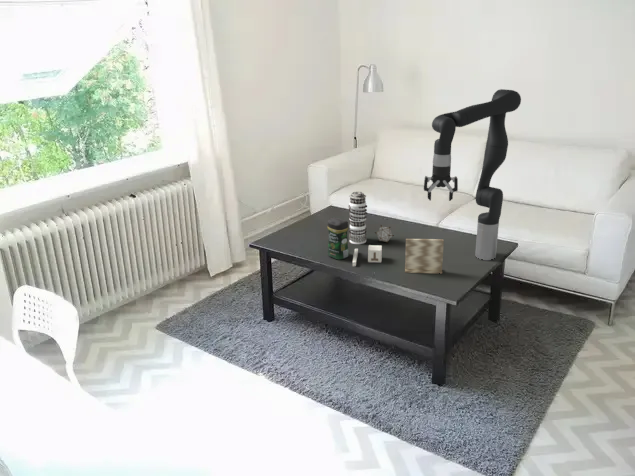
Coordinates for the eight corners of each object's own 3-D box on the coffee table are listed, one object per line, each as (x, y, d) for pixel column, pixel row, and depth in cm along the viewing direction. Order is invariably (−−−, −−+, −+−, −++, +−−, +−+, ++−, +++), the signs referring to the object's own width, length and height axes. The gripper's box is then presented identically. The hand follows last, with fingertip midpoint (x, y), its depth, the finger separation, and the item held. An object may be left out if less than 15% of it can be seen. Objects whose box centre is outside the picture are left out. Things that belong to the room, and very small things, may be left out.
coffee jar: (325, 255, 284) (324, 218, 277) (337, 251, 288) (336, 214, 282) (339, 261, 277) (338, 223, 270) (351, 256, 282) (351, 219, 275)
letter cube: (368, 257, 281) (368, 245, 279) (381, 257, 280) (381, 245, 278) (368, 262, 275) (368, 250, 273) (381, 262, 275) (381, 250, 272)
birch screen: (405, 272, 264) (406, 240, 258) (404, 268, 268) (405, 237, 262) (442, 273, 262) (443, 241, 256) (441, 269, 266) (443, 238, 260)
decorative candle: (367, 237, 304) (367, 190, 295) (366, 244, 295) (367, 195, 286) (349, 237, 305) (348, 190, 296) (348, 244, 296) (347, 195, 287)
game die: (387, 247, 300) (400, 232, 297) (380, 247, 293) (393, 232, 290) (375, 236, 304) (387, 221, 301) (368, 235, 296) (380, 220, 293)
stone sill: (354, 252, 286) (354, 248, 286) (357, 252, 286) (357, 248, 285) (352, 266, 272) (352, 262, 271) (355, 266, 271) (355, 262, 271)
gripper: (425, 165, 252) (423, 202, 258) (459, 166, 251) (457, 203, 257) (424, 161, 259) (423, 197, 265) (458, 161, 258) (455, 197, 263)
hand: (439, 200), depth 261 cm, fingers open, 8 cm apart
